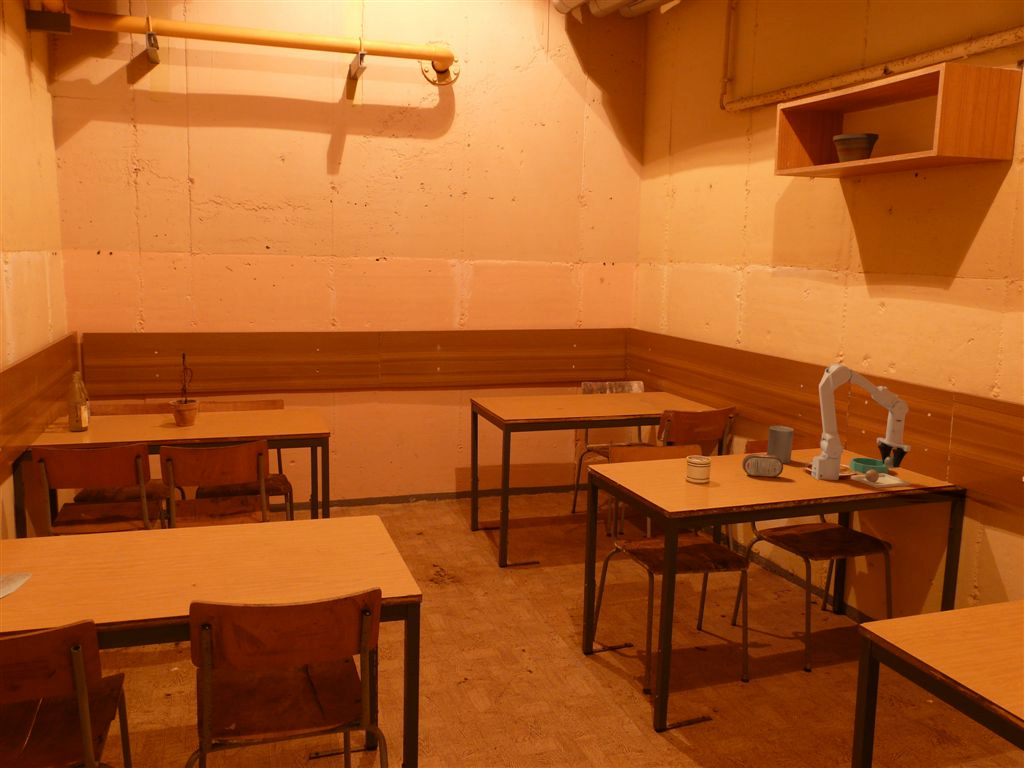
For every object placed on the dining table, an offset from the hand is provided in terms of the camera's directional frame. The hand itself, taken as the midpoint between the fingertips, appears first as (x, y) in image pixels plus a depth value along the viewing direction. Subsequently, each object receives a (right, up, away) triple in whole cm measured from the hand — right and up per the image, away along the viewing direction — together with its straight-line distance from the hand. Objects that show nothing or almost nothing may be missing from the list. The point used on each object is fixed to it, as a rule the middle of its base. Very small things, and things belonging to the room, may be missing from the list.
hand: (890, 465), depth 311 cm
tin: (-47, -5, +4) cm, 48 cm away
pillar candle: (-33, -1, +30) cm, 45 cm away
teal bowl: (-1, -4, +17) cm, 18 cm away
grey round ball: (0, -1, 0) cm, 1 cm away
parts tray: (-4, -7, 0) cm, 8 cm away
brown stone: (-8, -6, -2) cm, 10 cm away
